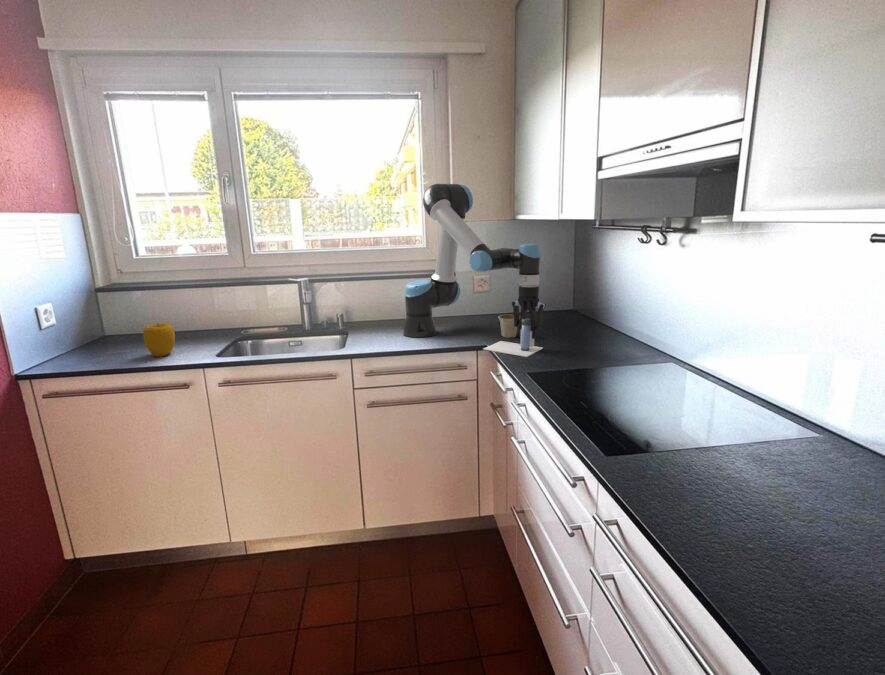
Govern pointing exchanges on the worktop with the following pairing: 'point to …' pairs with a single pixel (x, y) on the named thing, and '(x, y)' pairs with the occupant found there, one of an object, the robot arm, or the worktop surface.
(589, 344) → the worktop surface
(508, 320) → the flower pot
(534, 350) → the paper
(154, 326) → the apple
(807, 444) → the worktop surface
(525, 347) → the cylinder
